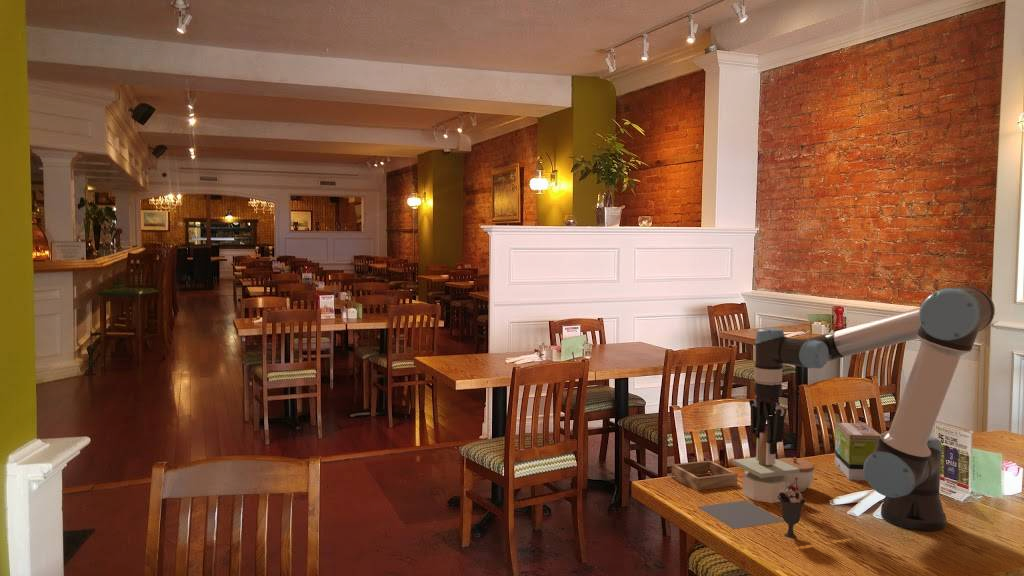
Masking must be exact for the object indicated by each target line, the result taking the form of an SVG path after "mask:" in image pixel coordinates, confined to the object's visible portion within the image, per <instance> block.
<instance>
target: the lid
mask: <svg viewBox="0 0 1024 576" xmlns="http://www.w3.org/2000/svg"><path fill="white" fill-rule="evenodd" d="M766 441H769V440H768V431H766V430H765V431H762V432H760V441H759V461H757V460H756V456H754V457H747V458H739V459H732V463H731V464H732V465H734V466H736V467H737V468H740V469H743V470H745V471H748V472H750V473H752V474H754V475H756V476H758V477H760V478H765V477H773V476H781V475H789V474H797V473H799V469H798V468H796V467H794V466H791V465H789V464H787V463H784V462H782V461H780V460H778V459H779V458H775V464H774V465H766Z"/></svg>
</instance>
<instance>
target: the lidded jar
mask: <svg viewBox="0 0 1024 576" xmlns="http://www.w3.org/2000/svg"><path fill="white" fill-rule="evenodd" d="M777 459H778V460H780V461H782V462H784V463H787V464H789V465H791V466H794V467H796V468H798V469H799V473H797V474H789V475H785V476H787V477H788V486H789V485H790V484H791V485H792V484H793V483H794V482H795V483H794V484H793V486H794V487H798V488H799V490H798V491H799V492H800V493H801V492H802V493H803V492H805V491H806V490H807V489H808V487H810V486H811V484H812V482H813V479H814V474H815V473H814V470H815V465H814V463H813V462H811V461H809V460H805V459H801V458H797V457H795V456H794V457H783V458H777ZM795 478H798V479H797V486H796V481H795Z"/></svg>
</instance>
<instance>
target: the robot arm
mask: <svg viewBox="0 0 1024 576" xmlns="http://www.w3.org/2000/svg"><path fill="white" fill-rule="evenodd" d="M995 312H996V307H995V304H994V302H993V299H992V297H990V296H989V294H988V293H986V292H985V291H984V290H983V289H982V290H981V289H980V288H977V287H974V286H973V287H972V286H958V287H945V288H941V289H939V290H937V291H935V292H933V293H931V294H930V295H928V296H927V297H926V298H925V299H924V300H923V302H922V304H921V305H920V307H917V308H913V309H910V310H906V311H903V312H899V313H896V314H893V315H889V316H885V317H882V318H877V319H874V320H872V321H867V322H864V323H861V324H857V325H854V326H850V327H847V328H843V329H839V330H836V331H832V332H828V333H825V334H822V335H817V336H812V337H807V338H795V337H788V336H785V334H784V330H783V329H781V328H775V327H760V328H758V329H757V330H756V335H755V342H754V345H755V350H754V351H755V357H754V360H755V361H754V374H753V375H754V377H753V380H755V382H754V384H753V394H754V395H755V399H749V400H748V401H749V402H748V403H749V407H750V408H749V409H750V433H751V434H753V435H754V437H755V448H756V449H755V455H756V456H755V457H756V460H757V461H759V441H760V432H762V431H766V429H767V432H768V440H769V441H766V465H774V464H775V459H776V455H777V451H778V446H777V445H778V443H783V441H784V427H785V418H786V414H787V409H786V408H782V407H781V405H780V401H779V399H780V397H782V395H783V384H782V381H783V367H784V366H783V365H789V366H797V367H802V368H807V369H823V368H824V367H825V365H826V364H827V363H828V362H831V361H835V360H837V359H842V358H845V357H849V356H852V355H857V354H862V353H865V352H869V351H870V352H871V351H873V350H878V349H881V348H885V347H889V346H893V345H897V344H900V343H905V342H909V341H913V340H919V342H920V346H919V349H918V352H917V354H916V357H915V359H914V362H913V365H912V367H911V369H910V373H909V375H908V379H907V382H906V384H905V387H904V389H903V392H902V395H901V397H900V400H899V403H898V405H897V408H896V411H895V414H894V416H893V420H892V422H891V424H890V428H889V430H887V431H884V432H881V433H880V434H881V435H880V438H879V440H878V443H877V446H876V448H875V451H874V453H871V454H870V455H869V456H868V458H867V459H866V461H865V463H864V467H863V470H864V475H865V478H866V479H867V481H866V482H867V483H868V485H869V486H870V488H872V489H873V490H874V491H876V492H877V493H878V494H880V495H882V496H884V500H883V502H882V504H881V507H880V516H881V518H882V519H884V520H885V521H887V522H888V523H890V524H893V525H896V526H898V527H901V528H904V529H905V528H906V529H909V530H910V529H911V530H915V531H916V530H917V531H923V532H924V531H925V532H926V531H928V532H932V531H940V530H943V529H945V528H946V525H947V517H946V514H945V512H944V509H943V504H942V501H941V497H940V488H941V466H942V453H943V450H942V442H941V441H940V440H939V439H938V438H937V437H934V436H931V435H932V432H933V429H934V426H935V424H936V422H937V419H938V417H939V413H940V411H941V408H942V406H943V403H944V400H945V399H946V395H947V393H948V390H949V387H950V385H951V383H952V379H953V377H954V374H955V372H956V369H957V366H958V365H959V361H960V359H961V357H962V356H963V355H965V354H968V353H970V352H971V351H972V349H973V346H974V344H975V342H976V339H977V336H978V334H979V332H982V331H983V330H985V329H987V327H989V326H990V324H991V323H992V322H993V319H994V316H995V315H996V313H995ZM766 425H767V427H766Z"/></svg>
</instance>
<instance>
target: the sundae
mask: <svg viewBox="0 0 1024 576" xmlns="http://www.w3.org/2000/svg"><path fill="white" fill-rule="evenodd" d="M797 479H798V478H795V481H796V486H797ZM794 483H795V482H794ZM794 483H793V484H794ZM793 484H792V485H791V484H790V485H789V486H788V487H787V488H785V490H784V491H783V492H781V493H779V496H778V499H779V500H780V502H779V503H780V507H781V508H780V509H781V516H782V520H784V522H785V523H786V524H787V525H788V526H787V527H788V528H787V529H788V530H787V532H786V533H784V537H786V538H788V539H797V537H798V536H797V535H796V534H795V533H794V526H795V525H796V524H798V523H799V521H800V520H801V516H802V511H803V505H804V504H805V503H806V501H807V499H806V498H804V497H803V494H802V493H801V492H799V491H798V490H799V488H798V487H794V486H793Z"/></svg>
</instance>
